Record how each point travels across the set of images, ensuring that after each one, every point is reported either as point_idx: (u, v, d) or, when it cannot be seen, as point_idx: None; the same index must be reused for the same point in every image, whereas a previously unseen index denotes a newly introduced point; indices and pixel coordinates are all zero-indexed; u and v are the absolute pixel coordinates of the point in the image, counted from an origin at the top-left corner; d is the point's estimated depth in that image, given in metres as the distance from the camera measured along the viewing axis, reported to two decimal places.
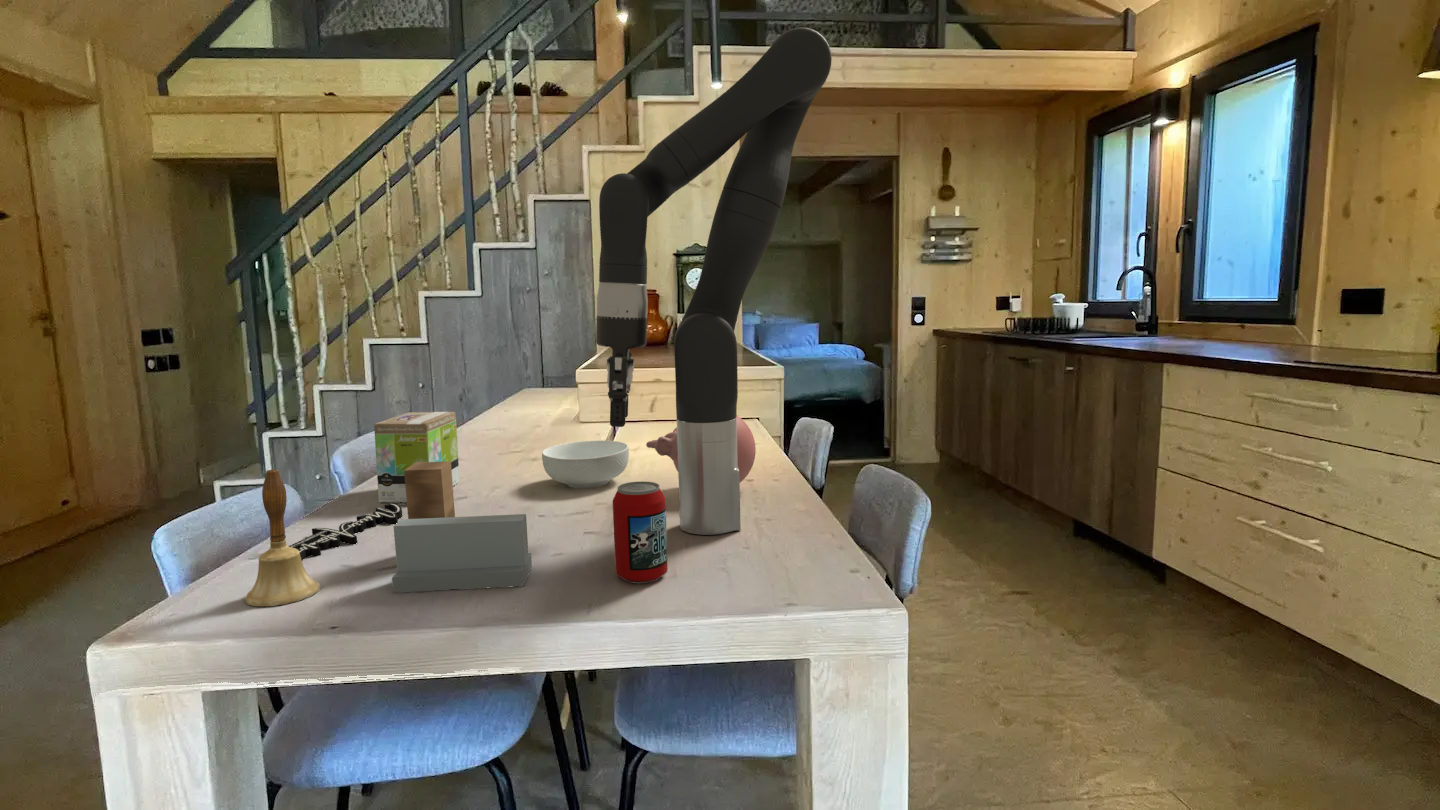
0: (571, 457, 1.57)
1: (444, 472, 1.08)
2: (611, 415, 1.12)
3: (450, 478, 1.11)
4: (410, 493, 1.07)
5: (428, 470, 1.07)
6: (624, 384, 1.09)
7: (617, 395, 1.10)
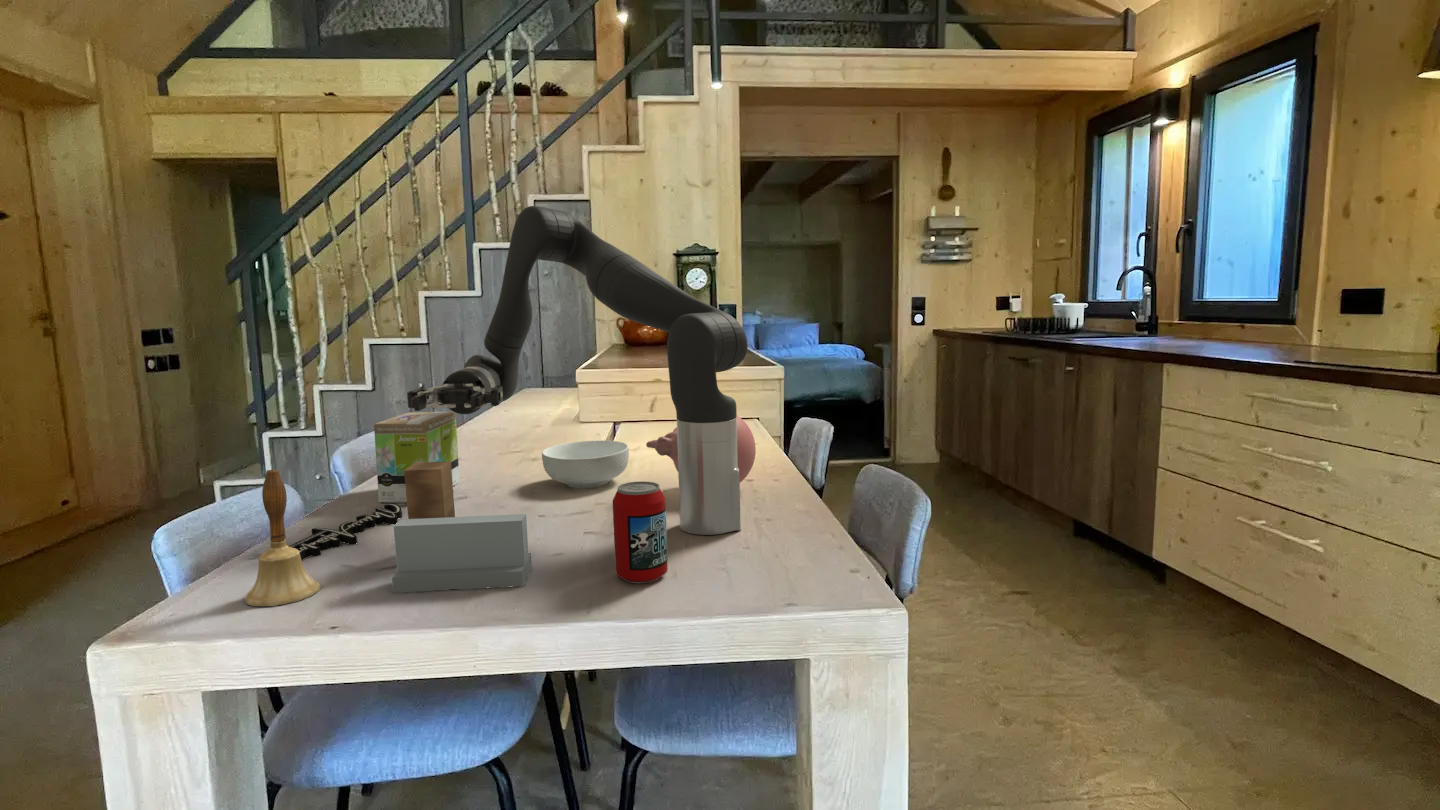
0: (571, 457, 1.57)
1: (444, 472, 1.08)
2: None
3: (450, 478, 1.11)
4: (410, 493, 1.07)
5: (428, 470, 1.07)
6: None
7: (408, 399, 1.23)
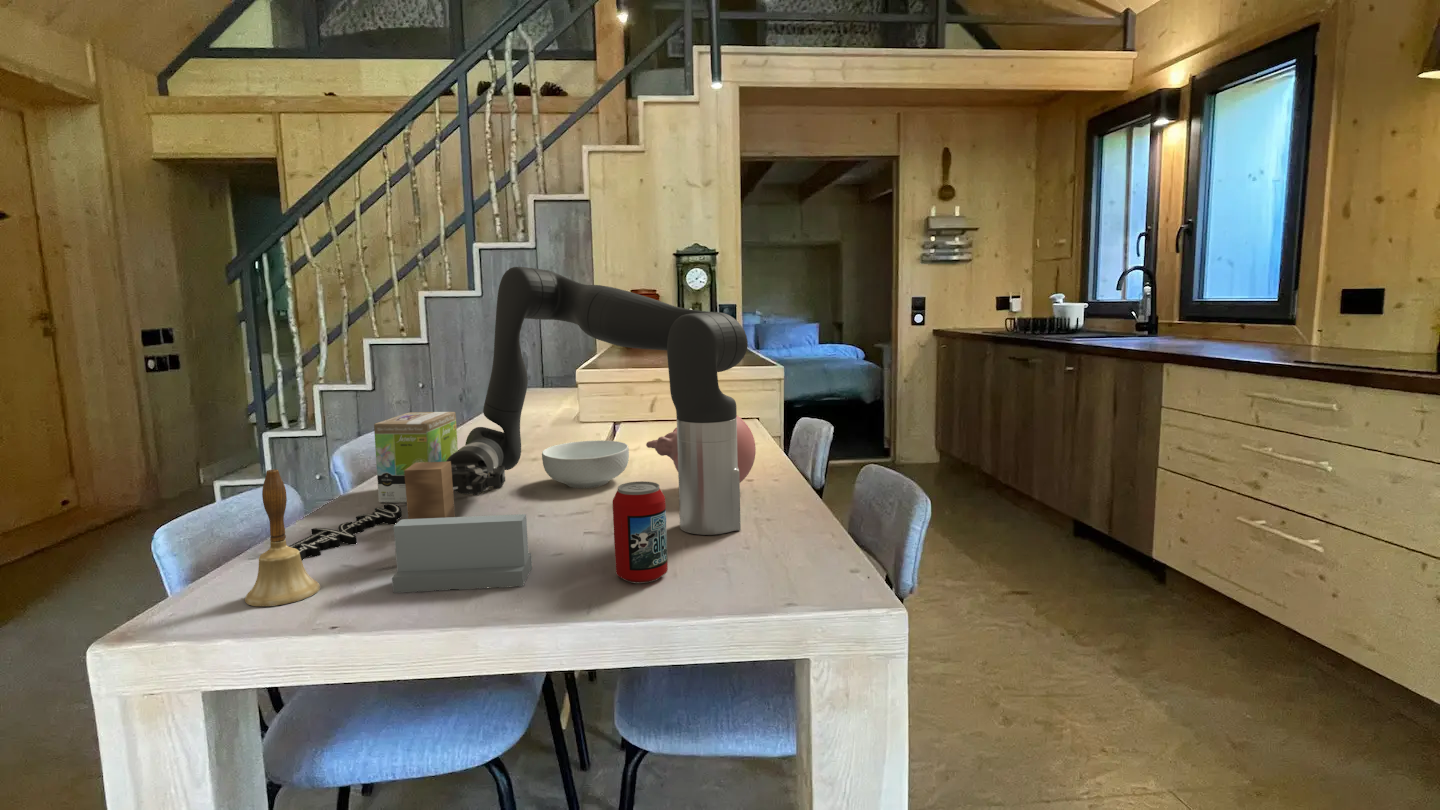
0: (571, 457, 1.57)
1: (444, 472, 1.08)
2: None
3: (450, 478, 1.11)
4: (410, 493, 1.07)
5: (428, 470, 1.07)
6: None
7: None
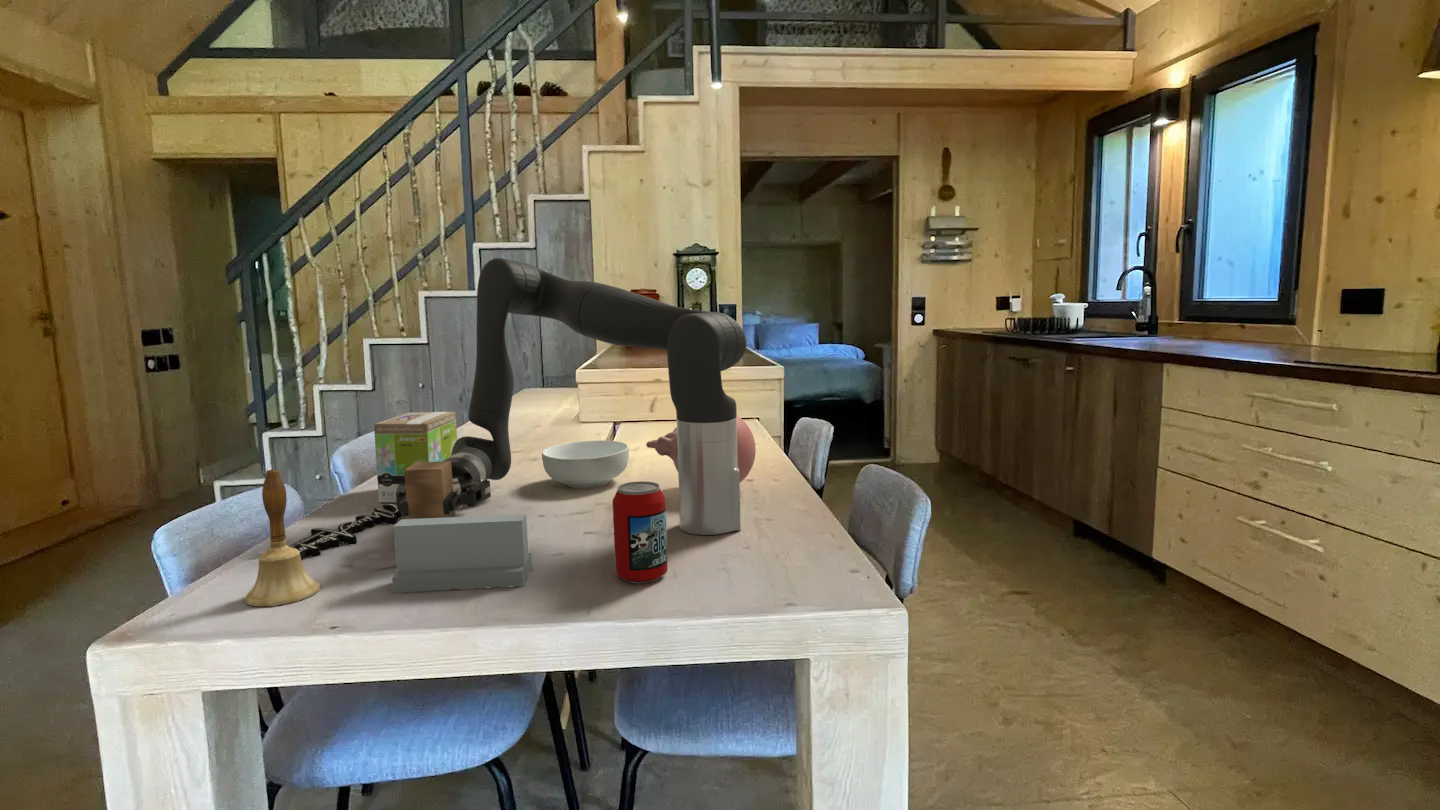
0: (571, 457, 1.57)
1: (444, 472, 1.08)
2: None
3: (450, 478, 1.11)
4: (410, 493, 1.07)
5: (428, 470, 1.07)
6: None
7: (396, 500, 1.12)
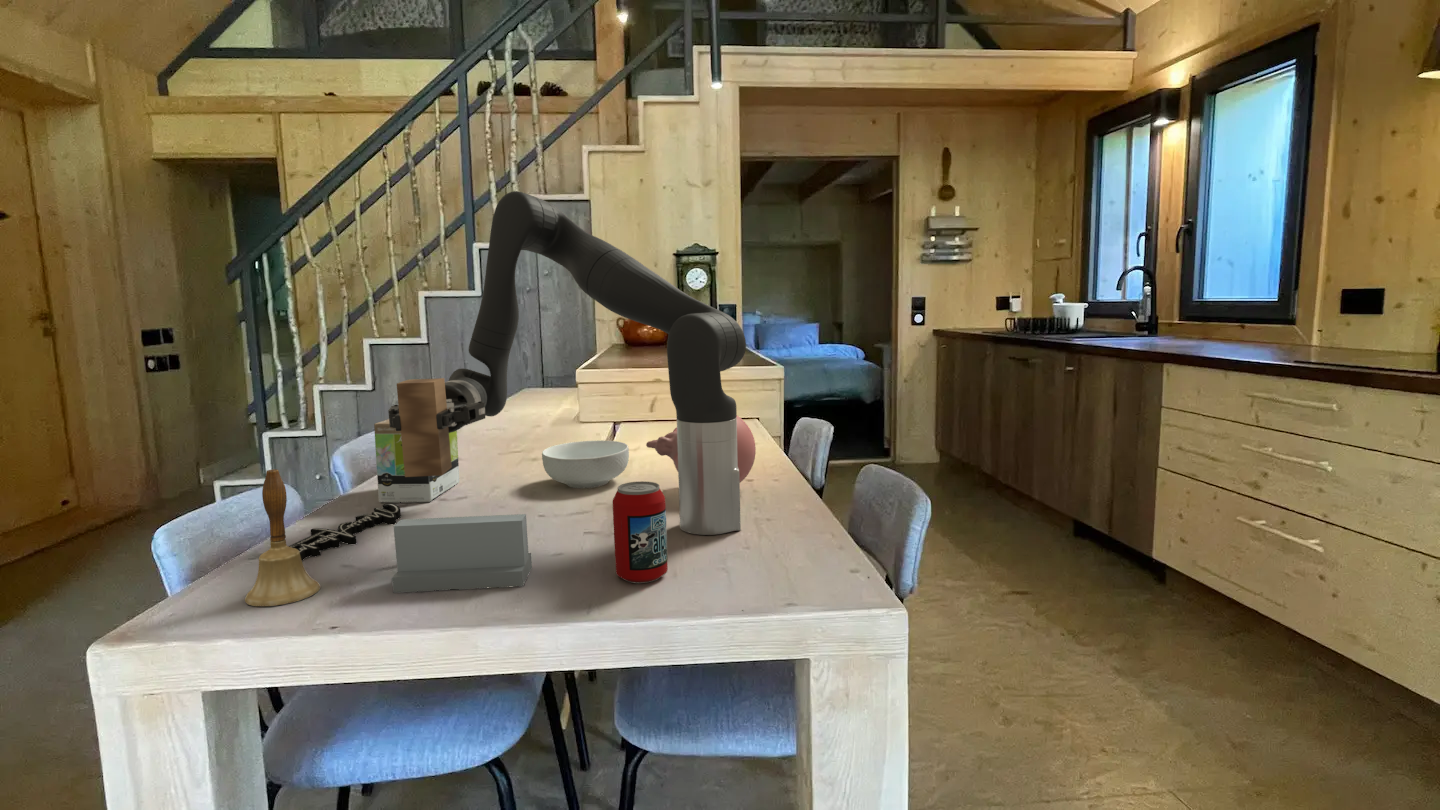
0: (571, 457, 1.57)
1: (437, 387, 1.07)
2: None
3: (444, 395, 1.10)
4: (403, 407, 1.05)
5: (421, 383, 1.05)
6: None
7: (389, 418, 1.10)
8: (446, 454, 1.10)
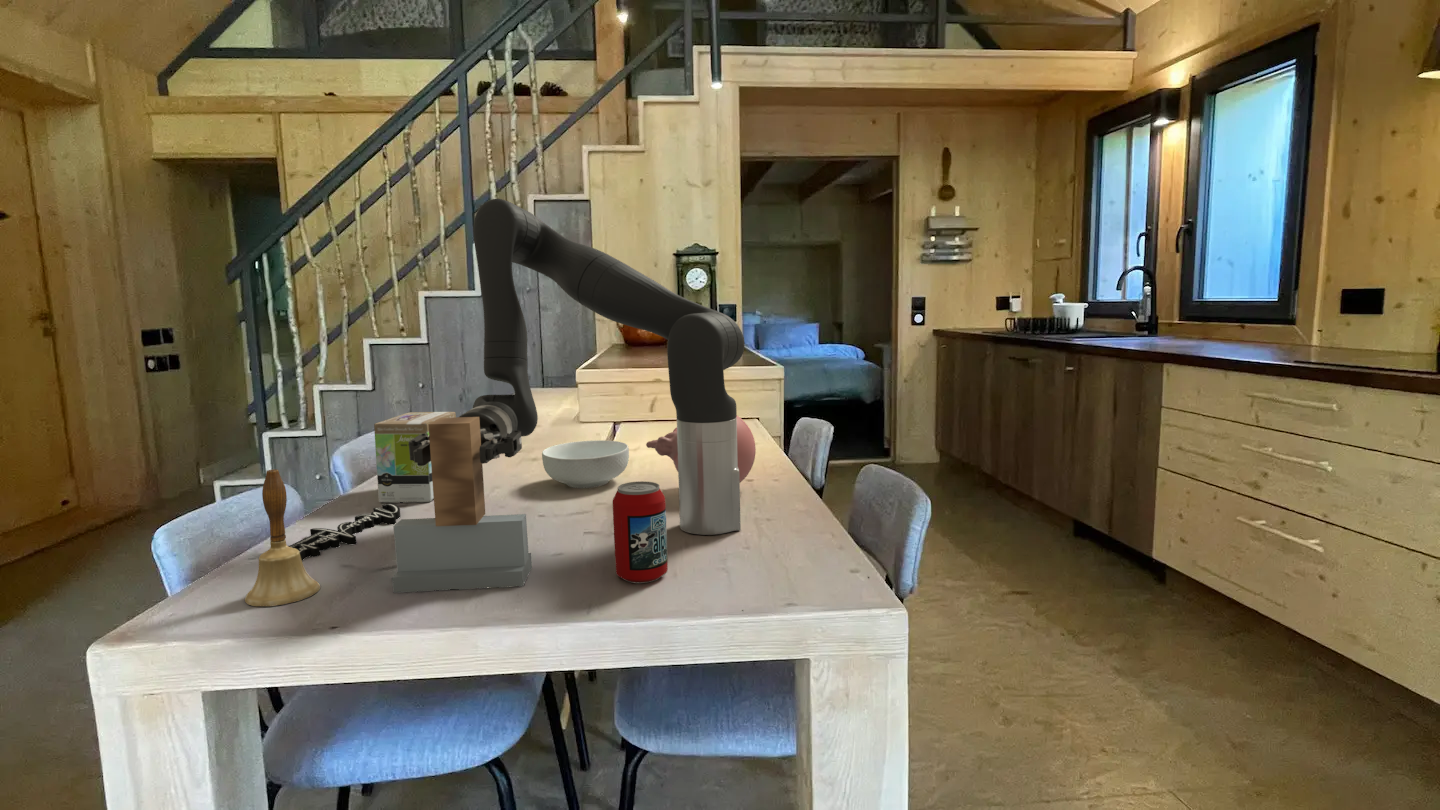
0: (571, 457, 1.57)
1: (472, 428, 0.97)
2: None
3: (478, 435, 1.00)
4: (435, 450, 0.96)
5: (455, 424, 0.95)
6: None
7: (409, 450, 1.01)
8: (480, 501, 1.00)
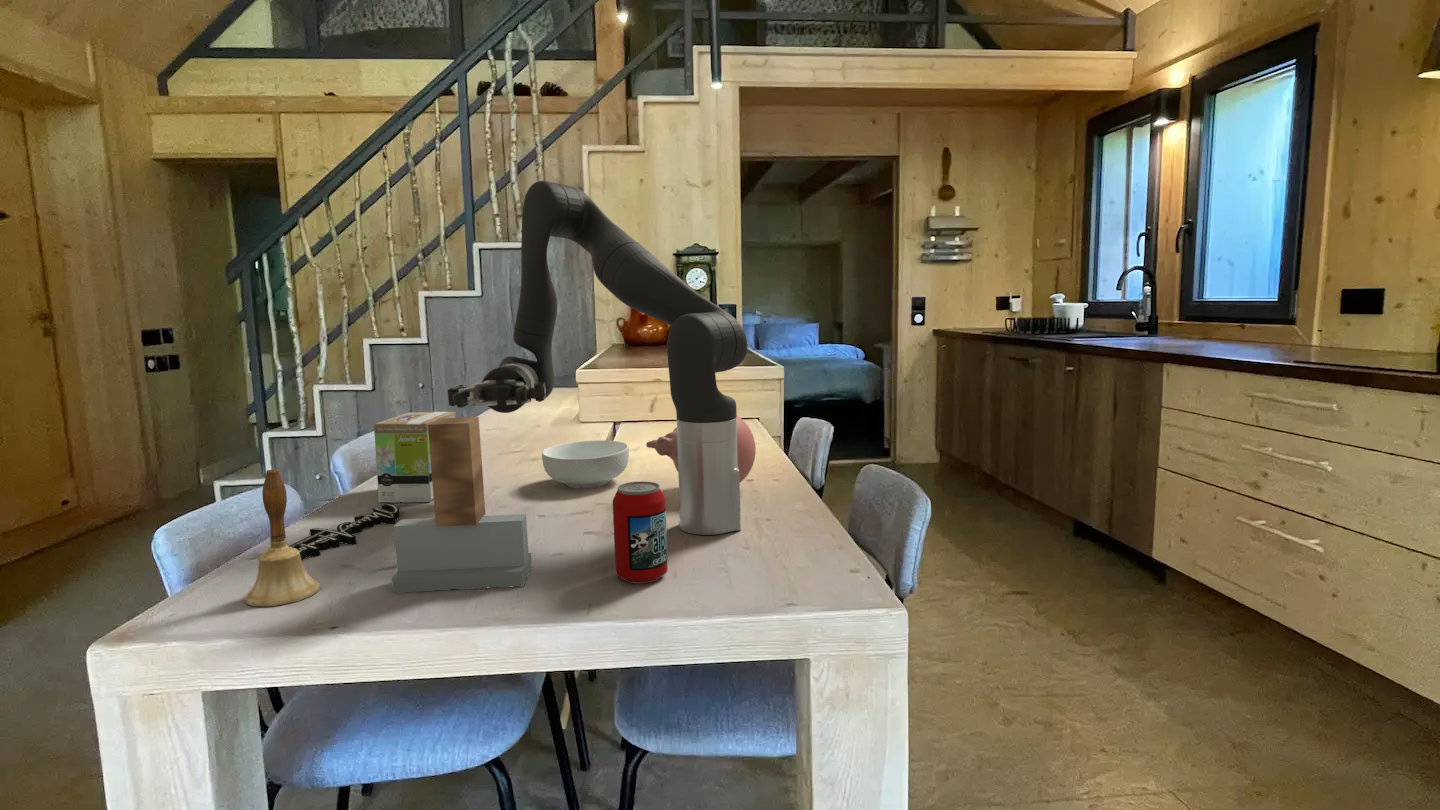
0: (571, 457, 1.57)
1: (472, 428, 0.97)
2: None
3: (478, 435, 1.00)
4: (434, 450, 0.96)
5: (454, 424, 0.95)
6: None
7: (448, 397, 1.17)
8: (480, 501, 1.00)
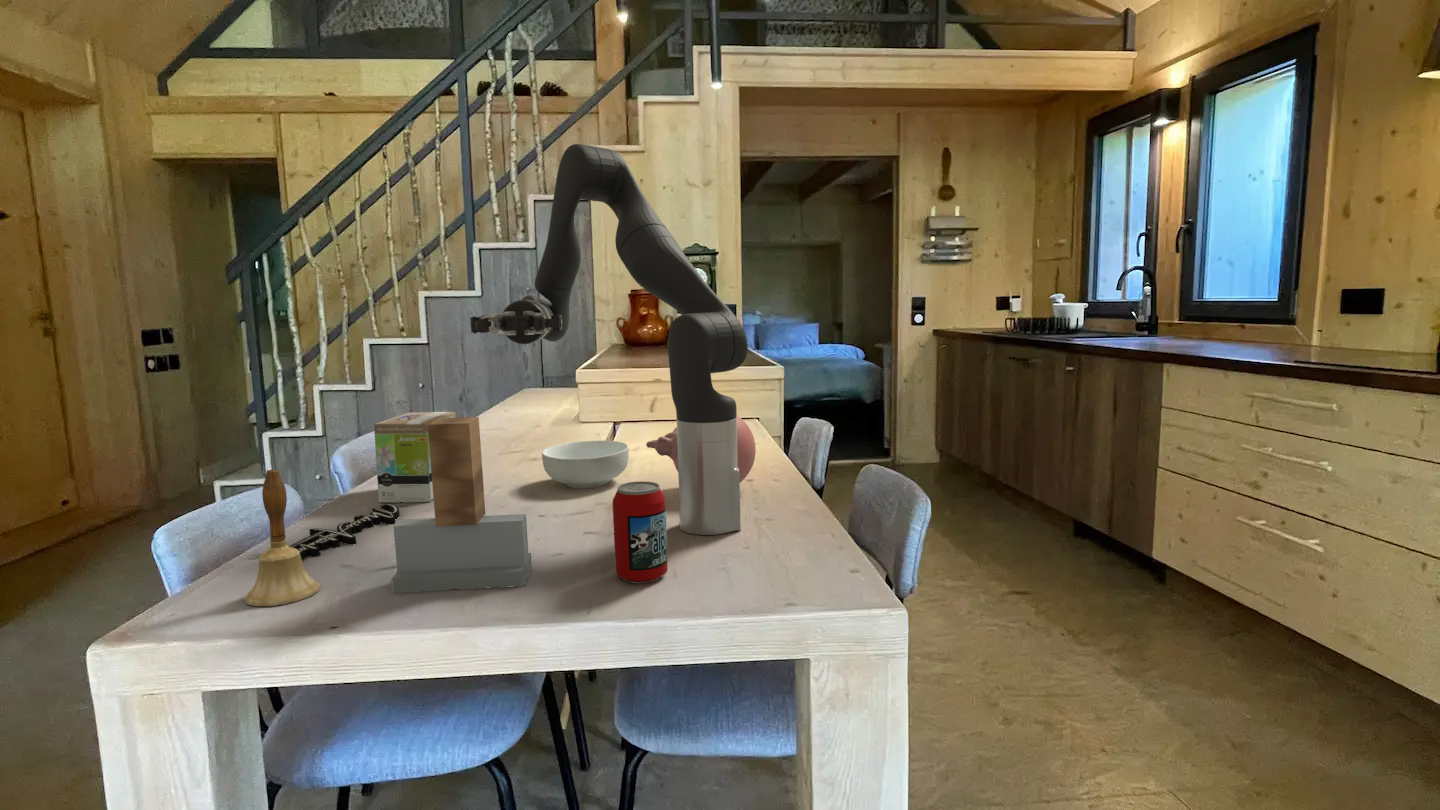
0: (571, 457, 1.57)
1: (472, 428, 0.97)
2: None
3: (478, 435, 1.00)
4: (434, 450, 0.96)
5: (454, 424, 0.95)
6: None
7: (471, 324, 1.25)
8: (480, 501, 1.00)
